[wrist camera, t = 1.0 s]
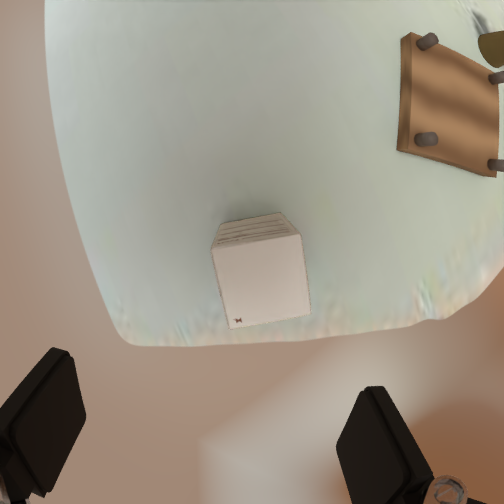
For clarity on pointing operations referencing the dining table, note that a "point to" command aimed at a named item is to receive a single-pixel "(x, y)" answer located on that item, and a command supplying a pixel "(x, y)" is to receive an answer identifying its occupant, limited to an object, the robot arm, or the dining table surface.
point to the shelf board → (448, 107)
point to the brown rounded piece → (492, 48)
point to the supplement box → (260, 271)
